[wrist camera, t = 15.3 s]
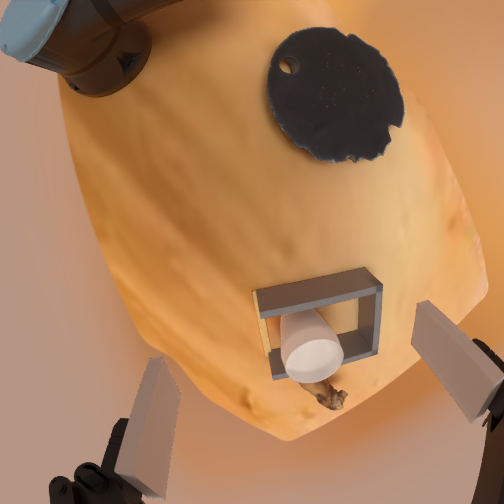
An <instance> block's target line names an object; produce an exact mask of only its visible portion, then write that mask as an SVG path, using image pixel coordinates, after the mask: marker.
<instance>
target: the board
mask: <svg viewBox="0 0 504 504" xmlns="http://www.w3.org/2000/svg"><path fill="white" fill-rule="evenodd" d="M282 59H285V60H286V61H287V62H288V63H289V64H290V66H291V71H292V72H291V73H285V72H283V71H282V70H281V68H280V67H279V62H280V60H282ZM270 65H271V66H270V68H269V71H268V79H267V93H268V97H269V101H270V107H271V108H272V111H273V113H274V117H275V119H276V120H277V122H278V123H279V125H280V126H281V129H282V130H283V131H285V132H286V133H287V134H288V136H290V137H291V139H292V141H293V142H294V143H295V144H296V146H297V147H299V148H305V149H307V150H309V151H310V153H311V155H312V156H313V157H314V159H315V160H316V159H318V160H323V161H325V162H337V163H338V162H342V161H345V160H347V159H348V158H349V159H351V160H352V161H353V162H354V163H356V162H357V161H359V160H360V159H363V158H364V159H367V160H370V161H373V160H375V159H376V158H378V156H380V155H382V156H383V155H384V153H385V150H386V147H387V146H388V145H389V144H390V142H391V137H390V134H389V131H388V130H389V126H390V125H394V126H396V127H398V128H401V125H402V123H403V119H404V115H405V112H404V111H405V106H404V101H403V97H402V95H401V92H400V88H399V84H398V81H397V79H396V77H395V75H394V72H393V71H392V69H391V68H390V67H389V64H388V62H387V60H386V58H384V57H383V56H382V55H381V54H380V52H379V50H377V49H376V48H375V47H372V46H371V45H369V44H367V43H366V42H364V41H363V40H362V39H361V38H360V37H358V36H357V35H355V34H348V36H345V35H344V34H343V33H342V32H340V31H339V30H337V29H336V28H334V27H332V28H327V27H311V28H309V27H308V28H307V29H302V30H300V31H296V32H295V33H292V34H291V35H290V36H289V37H288V38H287V39H286V40H284V41H283V42H282V43H281V44H280V45H279V47H278V48H277V49H276V51H275V53H274V55H273V58H272V60H271V64H270Z"/></svg>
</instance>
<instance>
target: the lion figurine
mask: <svg viewBox="0 0 504 504" xmlns="http://www.w3.org/2000/svg"><path fill="white" fill-rule="evenodd" d="M299 384H300V385H301V387H302V388H303V389H305V390H307V391H309V392H310V393H311V394H312V395H314V396H315V397H316V398H317V400H318V402H319V403H320V404H322V405H323V406H325V407H326V408H329V409H330V410H340V409H342V408H343V402H344V399H345V398H346V396H347V395H348V393H346V392H345V391H343V390H340V391H339V392H337V390H336V389H334V388H333V387H332V386H331V385H329V383H328V380H327V379H324V380H322V382H321V381H319V382H315V383H299Z"/></svg>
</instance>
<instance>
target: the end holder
mask: <svg viewBox="0 0 504 504" xmlns="http://www.w3.org/2000/svg"><path fill="white" fill-rule="evenodd" d="M382 292H383V284H382V283H381V282H380V281H379V280H378V279H377V278H376V277H375V276H373V275H372V274H371V273H370V272H369V271H368V270H367V269H366V268H365V267H363V268H359V269H354V270H350V271H346V272H341V273H336V274H332V275H327V276H323V277H318V278H313V279H309V280H304V281H299V282H294V283H289V284H284V285H279V286H274V287H269V288H264V289H258V290H253V291H252V293H253V298H254V303H255V308H256V313H257V318H258V322H259V327H260V332H261V337H262V342H263V346H264V351H265V356H266V358H267V357H269V361H270V367H271V372H272V378H273V380H278V379H283V378H288V377H289V376H288V375H287V373H286V370H285V367H284V364H283V361H282V358H281V348H278V349H273V350H271V348H270V343H269V337H268V332H267V327H266V322H265V318H269V317H275V316H280V315H285V314H289V313H294V312H299V311H304V310H308V309H313V308H317V307H322V306H326V305H330V304H335V303H339V302H343V301H347V300H351V299H355V298H359V321H358V330H355V331H351V332H347V333H344V334H340V335H337V337H338V340H339V342H340V345H341V347H342V350H343V353H344V357H343V361H342V364H341V365H343V364H346V363H350V362H353V361H357V360H360V359H363V358H367V357H370V356H373V355H376V354H378V345H379V335H380V324H381V311H382Z"/></svg>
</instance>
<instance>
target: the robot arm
mask: <svg viewBox="0 0 504 504" xmlns="http://www.w3.org/2000/svg"><path fill="white" fill-rule="evenodd" d="M180 1H183V0H11V1H10V3H9V5H8V7H7V8H6V10H5V12H4V14H3V17H2V19H1V22H0V49H1V51H2V52H3V53H4V54H6V55H9V56H11V57H13V58H16V60H18V61H20V62H25V63H28V64H32V65H35V66H38V67H42V68H45V69H48V70H51V71H54V72H57V73H60V74H61V75H62V76H63V78H64V79H65V80H66V82H67V83H68V85H69V86H70V87H71V88H72V89H73V90H75V91H76V92H78V93H80V94H83V95H86V96H90V97H101V96H106V95H109V94H112V93H114V92H116V91H118V90H120V89H122V88H123V87H125V86H126V85H127V84H129V83H130V82H131V81H132V80H133V79H134V78H135V77H136V76H137V75H138V74H139V72H140V71H141V70H142V68H143V67H144V65H145V63H146V61H147V59H148V57H149V54H150V50H151V35H150V32H149V30H148V28H147V27H146V26H145V24H144V23H143V22H142V21H141V20H140V19H139V18H140V17H142V16H144V15H147V14H149V13H151V12H154V11H156V10H159V9H161V8H164V7H166V6H169V5H172V4H174V3H177V2H180ZM411 345H412V346H413V347H414V348H415V350H416V351H417V352H418V353H419V355H420V356H421V357H422V358H423V360H424V361H425V362H426V363H427V365H428V366H429V367H430V369H431V370H432V371H433V373H434V374H435V375H436V376H437V378H438V379H439V380H440V382H441V383H442V384H443V385H444V387H445V388H446V390H447V391H448V392H449V394H450V395H451V396H452V398H453V399H454V401H455V402H456V403H457V405H458V406H459V407H460V409H461V410H462V411H463V413H464V414H465V416H466V418H467V419H468V420H469V422H470V423H471V424H472V423H474V422H475V421H477V420H478V419H480V418H481V417H482V416H483V415H484V413H485V412H486V410H487V409H488V410H489V411H490V413H489V415H488V416H487V418H486V419H485V421H484V422H483V425H482V427H484V426H485V424H486V423H487V421H488V423H487V432H486V440H485V447H484V453H483V458H482V463H481V468H480V473H479V477H478V481H477V485H476V489H475V493H474V496H473V500H472V503H471V504H504V362H503V361H502V360H501V359H500V358H499V357H498V356H497V355H495V353H494V352H493V351H492V350H490V348H489V347H488V346H487V345H486V344H485V343H484V342H482V341H480V340H478V339H476V338H475V339H473V340H471V339H470V338H469V337H468V336H467V335H466V334H465V333H464V332H462V331H461V330H460V329H459V328H458V327H457V326H456V325H455V324H454V323H453V322H452V321H451V320H450V319H449V318H448V317H446V316H445V315H444V314H443V313H442V312H441V311H440V310H439V309H438V308H437V307H435V306H434V305H433V304H432V303H431V302H430V301H429V300H426V301H423V302H420V303H417V308H416V315H415V322H414V328H413V334H412V339H411ZM180 397H181V392H180V390H179V388H178V387H177V385H176V383H175V381H174V379H173V377H172V375H171V373H170V371H169V369H168V366H167V364H166V362H165V360H164V358H163V357H160V358H149V361H148V364H147V367H146V370H145V372H144V375H143V378H142V381H141V384H140V387H139V390H138V393H137V396H136V399H135V402H134V405H133V408H132V411H131V414H130V418H129V419H128V418H127V419H126V418H120V419H119V420H118V422H117V423H116V424H115V425H114V427H113V430H112V433H111V438H110V439H109V442H108V443H109V445H108V446H107V448H106V452H105V455H104V458H103V461H102V465H101V468H100V467H99V466H98V465H96V464H94V463H91V462H86V463H83V464H81V465H80V466H78V467H77V469H76V470H75V473H74V480H75V482H71V481H70V480H69V479H68V478H66V477H63V476H57V477H55V478H54V479H53V480H51V482H50V484H49V496H50V504H145V503H144V502H143V501H142V500H141V498H142V494H144V495H145V496H146V497H148V498H152V499H161V500H165V498H166V489H167V481H168V474H169V467H170V466H169V465H170V459H171V452H172V446H173V439H174V432H175V427H176V419H177V414H178V408H179V402H180Z"/></svg>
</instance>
